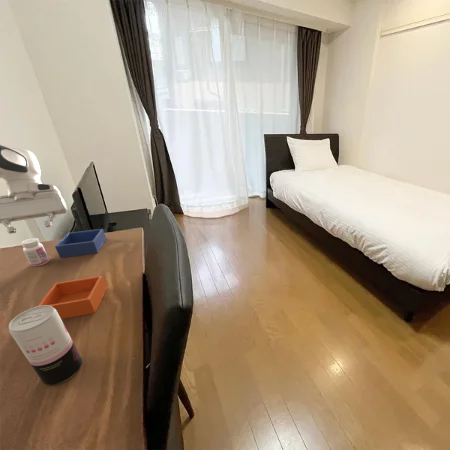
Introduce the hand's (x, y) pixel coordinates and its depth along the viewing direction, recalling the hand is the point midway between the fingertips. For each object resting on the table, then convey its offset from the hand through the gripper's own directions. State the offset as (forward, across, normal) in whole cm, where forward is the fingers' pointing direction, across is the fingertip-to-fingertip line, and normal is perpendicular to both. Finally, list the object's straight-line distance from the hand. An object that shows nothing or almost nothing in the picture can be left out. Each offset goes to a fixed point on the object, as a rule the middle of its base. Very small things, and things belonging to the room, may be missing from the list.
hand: (30, 229), depth 91 cm
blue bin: (+8, +12, +6) cm, 16 cm away
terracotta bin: (+32, +14, -18) cm, 40 cm away
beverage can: (+49, +14, -34) cm, 61 cm away
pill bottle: (+11, 0, +3) cm, 12 cm away
